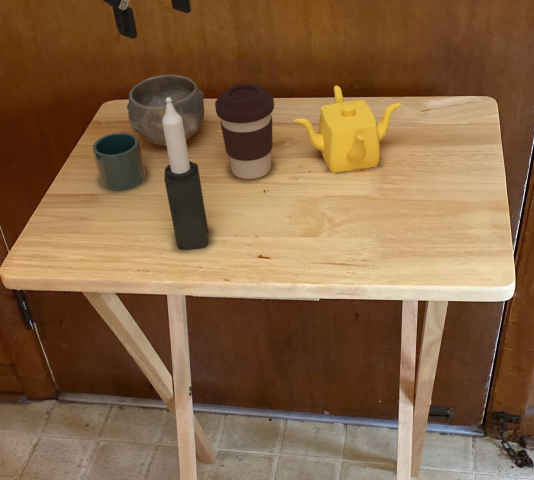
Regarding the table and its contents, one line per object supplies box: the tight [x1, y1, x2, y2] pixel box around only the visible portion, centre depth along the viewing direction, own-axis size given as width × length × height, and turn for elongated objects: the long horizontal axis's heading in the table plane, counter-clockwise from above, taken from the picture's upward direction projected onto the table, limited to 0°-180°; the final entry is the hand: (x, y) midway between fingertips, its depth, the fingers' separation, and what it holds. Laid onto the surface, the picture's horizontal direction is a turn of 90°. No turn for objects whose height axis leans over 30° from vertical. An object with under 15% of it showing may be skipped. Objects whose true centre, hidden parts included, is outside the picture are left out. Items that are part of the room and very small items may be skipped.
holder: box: [92, 132, 146, 191], centre depth 145 cm, size 8×8×7 cm
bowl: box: [126, 74, 205, 147], centre depth 154 cm, size 14×15×10 cm
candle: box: [162, 97, 209, 251], centre depth 123 cm, size 5×5×25 cm
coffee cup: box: [214, 82, 275, 180], centre depth 141 cm, size 10×10×15 cm
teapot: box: [293, 85, 402, 174], centre depth 144 cm, size 15×14×10 cm
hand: (155, 23), depth 110 cm, fingers open, 9 cm apart
